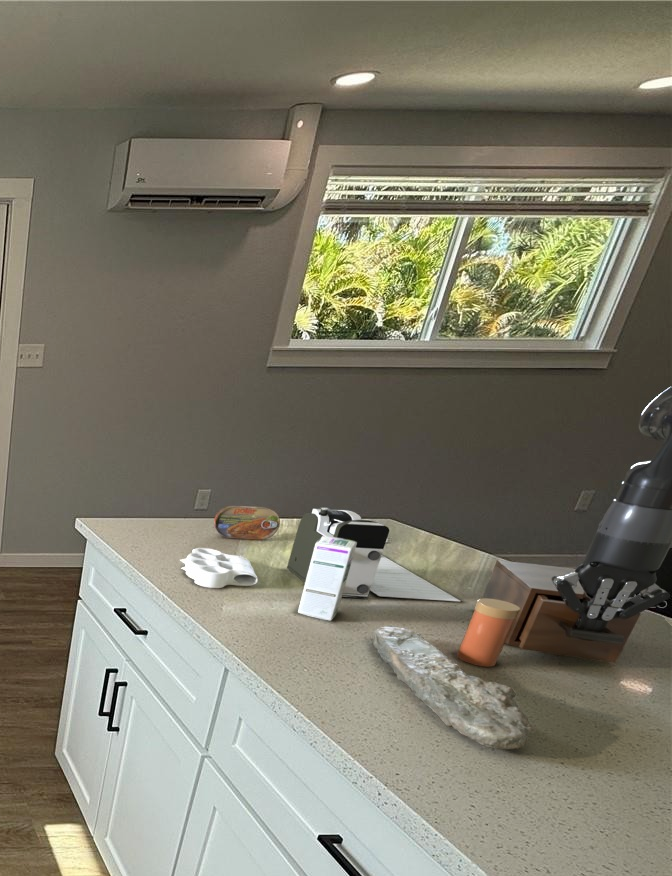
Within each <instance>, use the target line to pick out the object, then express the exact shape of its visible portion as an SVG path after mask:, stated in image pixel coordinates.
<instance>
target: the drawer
mask: <svg viewBox="0 0 672 876" xmlns="http://www.w3.org/2000/svg"><path fill="white" fill-rule="evenodd" d="M578 599H579V598H578ZM579 600H580V602H581V604H582V602H583V599H579ZM641 613H642V612H640V613H638V614H636V615H634V616H632V617H630V618H628V619H621V618H615V619H611V620H609V621H608V623H607V625H606V627H605V629H604V631H603V632H595V631H587V630H580V629H573V627H574V624H575V622H576V620H577V618H578V616H579V613H576V612H574V611H573V610H572V609H570V608H569V607H568V606H567V605H566V604H565V602H564V600H563V599H562V597H561V596H555V595H547V594H539V593H536V594H535V597H534V599H533V601H532V603H531V606H530V608H529V610H528V613H527V615H526V617H525V619H524V622H523V624H522V626H521V629H520V631H519V633H518V635H517V637H518V638H519V639H520V640H521V643H520V646H519V648H520V649H521V650H524V651H525V650H526V651H533V652H539V653H544V654H545V653H546V654H552V655H558V656H566V657H572V658H578V659H585V660H591V661H597V662H604V663H611V664H616V663H617V661H618V659H619V657H620V655H621V653H622V651H623V649H624V647H625V645H626V644H627V641H628V639H629V638H630V636H631V634H632V631H633V630H634V628H635V626H636V624H637V622H638V620H639V618H640V616H641ZM578 638H580V639H587V640H580V639H578ZM588 640H594V641H588Z"/></svg>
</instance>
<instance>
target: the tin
mask: <svg viewBox="0 0 672 876" xmlns="http://www.w3.org/2000/svg"><path fill="white" fill-rule="evenodd" d="M280 525H281V519H280V516H279V514H278V513H277V511H275V510H274V509H271V508H269V507H264V506H245V505H229V506H226V507H223V508H221V509H220V510H219V511H218V512H217V513H216V514H215V516H214V520H213V527H214V529H215V530H216V532H217V534H219V535H220V536H221V537H223V538H226V539H235V540H236V539H238V540H255V541H262V540H267V539H269V538H271V537H273V536H274V535H275V534H276V533H277V532H278V530H279V529H280Z"/></svg>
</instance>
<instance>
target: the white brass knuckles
mask: <svg viewBox="0 0 672 876" xmlns="http://www.w3.org/2000/svg"><path fill="white" fill-rule="evenodd" d="M179 561H180V562H181V563H183V564H185V566H183V567H181V568H180V569H181V570H183V571H185V574H186V576H187V577H188V578H190V579H192V580H194V584H196V585H198V586H200V587H204V588H208V589H221V588H224V587H226V586H238V587H245V586H246V587H249V586H253V585H256V584H257V583H258V577H259V576H257V575H256V572H255V569H254V568H253V567H252V565H251V561H250V560H249V559H247V558H246V557H244V556H240V555H234V554H228V553H224V552H222V551H220V550H218V549H213V548H208V547H197V548H193V549H192V552H190V553H189V554H188V555H187V557H185V558H182V559H179Z"/></svg>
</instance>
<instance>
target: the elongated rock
mask: <svg viewBox="0 0 672 876" xmlns="http://www.w3.org/2000/svg"><path fill="white" fill-rule="evenodd" d="M370 641H371V642H372V643H373V647H374V649H376V650H377V653H378V654H379V656H380V658H382V659H383V661H384V663H386V664H387V665H389V666H390V667H391V669H392V670H393V673H394V674H395V675H396V677H397V680H399V681H401V682H403V683H404V684H406V685H407V686H408V688H409V689H411V691H412V692H414V693H415V694H414V695H415V697H416V698H418V699H419V700H420V701H422V702H423V704H424V705H425V706H426V707H428V708H429V709H430V710H432V712H433V713H435V715H436V716H437V717H439V719H440V720H441V721H442V722H443V724H444V725H445V726H447V727H452V728H453V729H455V730H456V731H458V733H459V734H461V735H463V736H465V737H468V738H469V739H471V740H472V741H474V742H476V743H478V744H480V745H481V746H485V747H487V748H492V749H499V750H515V749H518V750H519V748H523V747H525V744H526V742H527V737H529V735H530V733H532V727H531V725H530V723H529V720H530V718H529V716H527V715H526V713H524V711H523V709H521V708H520V707H519V705H518V704H517V703H516V701H515V699H514V698H515V697H516V696H517V692H516V691H515V689H514V688H513V687H511V686H509V685H505V684H501V683H498V682H494V681H486V680H485V679H483V678H481V677H478V676H475V675H469V674H467V673H466V672H465V669H464V670H463V669H462V668H461V667H460V665H458V664H457V663H456V662H454V661H453V660H451V659H450V658H449V656H447V655H446V654H445V653H444V652H442V651H440V650H439V649H438V648H437V647H436V646H434V645H432V644H431V643H430V642H429V641H427V640H426V639H425V638H424V636H422V634H421V633H415V631H413V630H411V629H407V628H404V627H396V626H393V625H388V626H380V627H377V628H376V629H375V630H373V632H372V633H371V635H370Z"/></svg>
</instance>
